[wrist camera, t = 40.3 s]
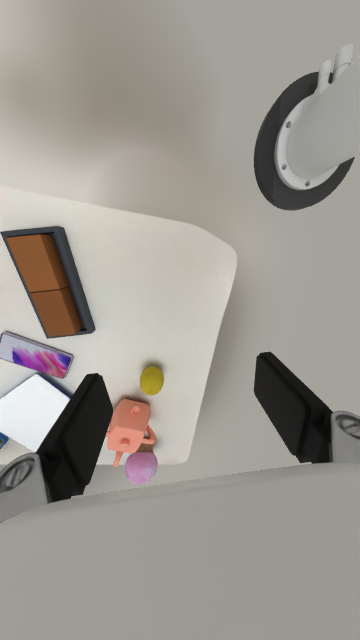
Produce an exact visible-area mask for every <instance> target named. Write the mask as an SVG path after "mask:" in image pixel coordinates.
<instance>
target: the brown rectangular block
mask: <svg viewBox="0 0 360 640" xmlns="http://www.w3.org/2000/svg"><path fill="white" fill-rule="evenodd" d="M6 240H7V242H8V244H9V246H10V249H11V251H12V253H13V256H14V258H15V260H16V263H17V265H18V267H19V270H20V272H21V274H22V276H23V279H24V281H25V283H26V286H27V288H28V290H29V292H37V291H46V290H55V289H61V288H64V287H67V286H70V285H69V282H68V279H67V276H66V273H65V270H64V267H63V264H62V261H61V258H60V255H59V252H58V249H57V246H56V243H55V240H54V237H53V236H47V235H40V234H39V235H29V236H19V237H9V238H6Z"/></svg>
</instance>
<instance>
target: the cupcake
mask: <svg viewBox="0 0 360 640" xmlns="http://www.w3.org/2000/svg"><path fill="white" fill-rule="evenodd" d="M157 464H158V463H157V458H156V456H155V454H154V453H153V447H152V444H145V443H141V444H140V446H139V448H138V450H137V451H136V452H135V453H132V454H131V455H130V456H129V457H128V458H127V460H126V463H125V473H126V476H127V477H128V478H129V480H130V481H131V483H133V484H143V483H145V482H146V481H148V480H150V479H151V477H152V476H154V475H155V473H156V469H157Z"/></svg>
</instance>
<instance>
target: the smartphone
mask: <svg viewBox="0 0 360 640" xmlns="http://www.w3.org/2000/svg"><path fill="white" fill-rule="evenodd" d="M0 359H3V360H6V361H9V362H12V363H15V364H18V365H21V366H24V367H27V368H30V369H33V370H36V371H39V372H43V373H46V374H49V375H52V376H55V377H58V378H61V379H63V378H65V377H66V375H67V372H68V370H69V367H70V365H71V362H72V359H73V356H72V355H70V354H67V353H65V352H62V351H59V350H56V349H54V348H51V347H48V346H45V345H42V344H40V343H37V342H34V341H31V340H29V339H26V338H23V337H20V336H17V335H15V334H12V333H9V332H3V333H1V336H0Z"/></svg>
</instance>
